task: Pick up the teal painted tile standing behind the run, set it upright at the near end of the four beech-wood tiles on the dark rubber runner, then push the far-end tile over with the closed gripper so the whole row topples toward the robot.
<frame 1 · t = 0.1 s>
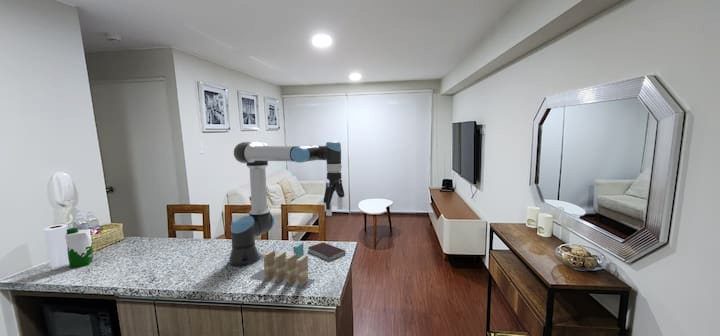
hand: (334, 212, 145), 28 cm above the counter, fingers open, 13 cm apart
runner mat: (281, 279, 131), on the counter
tile 1: (302, 283, 127), resting on runner mat
milk carton: (81, 264, 150), on the counter
tile 3: (280, 278, 131), resting on runner mat
tile 4: (270, 276, 133), resting on runner mat
tile 2: (291, 280, 129), resting on runner mat
book: (326, 254, 162), on the counter
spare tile: (299, 267, 144), on the counter
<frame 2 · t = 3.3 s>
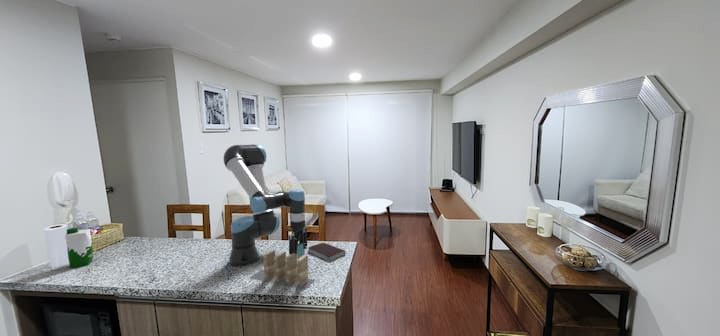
hand: (299, 263, 144), 2 cm above the counter, fingers closed on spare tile, 6 cm apart
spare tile: (299, 267, 144), on the counter, touching gripper
when the fingers open (3 cm above the counter, at t = 8.6 s): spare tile stays where it is, resting on runner mat.
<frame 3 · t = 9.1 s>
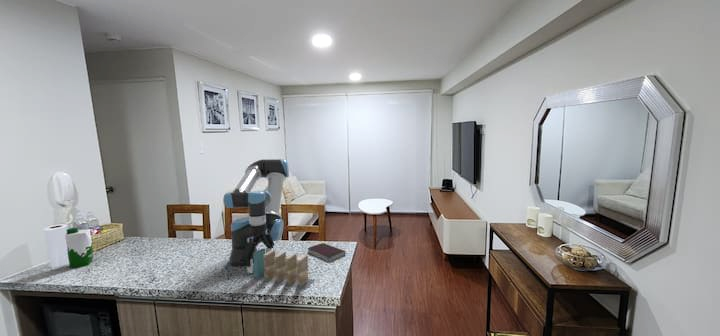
hand: (259, 266, 135), 5 cm above the counter, fingers open, 12 cm apart
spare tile: (260, 274, 136), resting on runner mat
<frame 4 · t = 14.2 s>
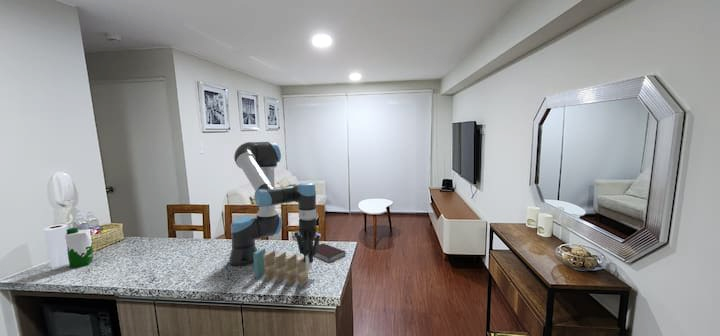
hand: (308, 268, 125), 8 cm above the counter, fingers closed
tile 1: (302, 283, 127), resting on runner mat, touching gripper
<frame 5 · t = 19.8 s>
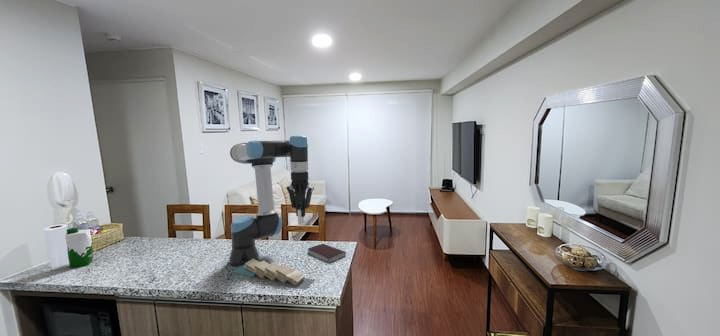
hand: (301, 223, 124), 28 cm above the counter, fingers closed
tile 1: (300, 280, 127), point 1 cm above the counter, tilted 71°, touching runner mat, tile 2
tile 3: (278, 276, 132), point 1 cm above the counter, tilted 70°, touching runner mat, tile 2, tile 4
tile 4: (267, 274, 134), point 1 cm above the counter, tilted 70°, touching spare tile, tile 3
tile 2: (289, 278, 130), point 1 cm above the counter, tilted 71°, touching runner mat, tile 1, tile 3
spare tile: (257, 272, 136), point 1 cm above the counter, tilted 92°, touching runner mat, tile 4
at the end: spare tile tilted 92°; tile 1 tilted 71°; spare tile inside the target area (0.1 cm from its centre), point 1.5 cm above the counter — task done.
